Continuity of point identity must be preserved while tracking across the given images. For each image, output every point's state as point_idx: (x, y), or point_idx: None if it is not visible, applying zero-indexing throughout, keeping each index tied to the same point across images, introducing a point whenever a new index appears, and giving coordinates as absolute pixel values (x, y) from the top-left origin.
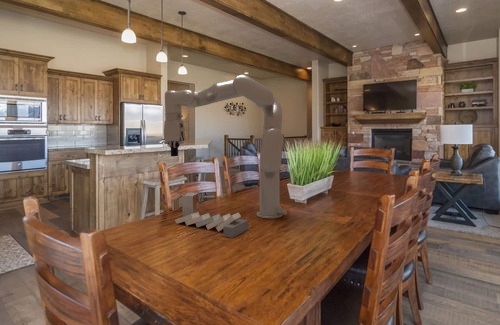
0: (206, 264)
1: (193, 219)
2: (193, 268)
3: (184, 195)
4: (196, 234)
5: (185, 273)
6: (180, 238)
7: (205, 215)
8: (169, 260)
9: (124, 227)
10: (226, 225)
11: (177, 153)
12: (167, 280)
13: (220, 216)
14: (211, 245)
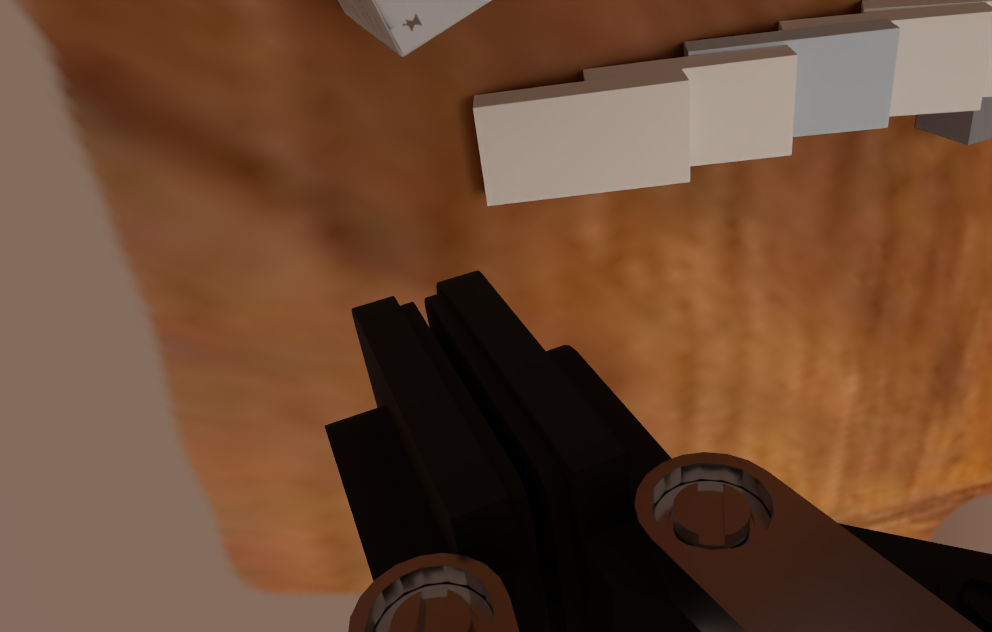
0: (976, 380)
1: (690, 162)
2: (952, 427)
3: (422, 30)
4: (763, 220)
5: (946, 460)
6: (729, 323)
7: (791, 104)
8: (847, 463)
9: (265, 501)
10: (977, 117)
11: (575, 368)
12: (923, 513)
13: (890, 22)
14: (914, 260)
